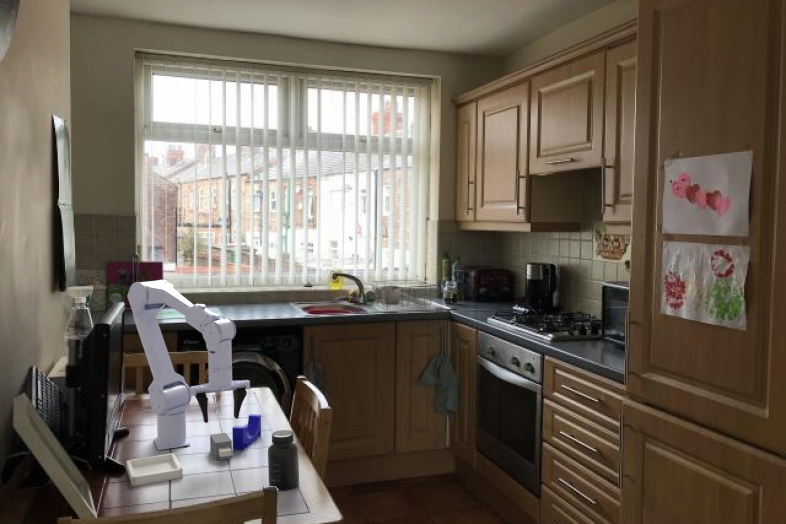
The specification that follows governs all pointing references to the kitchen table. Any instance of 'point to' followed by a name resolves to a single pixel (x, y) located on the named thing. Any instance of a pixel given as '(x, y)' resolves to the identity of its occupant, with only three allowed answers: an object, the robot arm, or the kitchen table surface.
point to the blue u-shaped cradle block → (247, 432)
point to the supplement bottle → (283, 461)
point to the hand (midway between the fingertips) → (221, 419)
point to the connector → (220, 445)
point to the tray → (154, 469)
